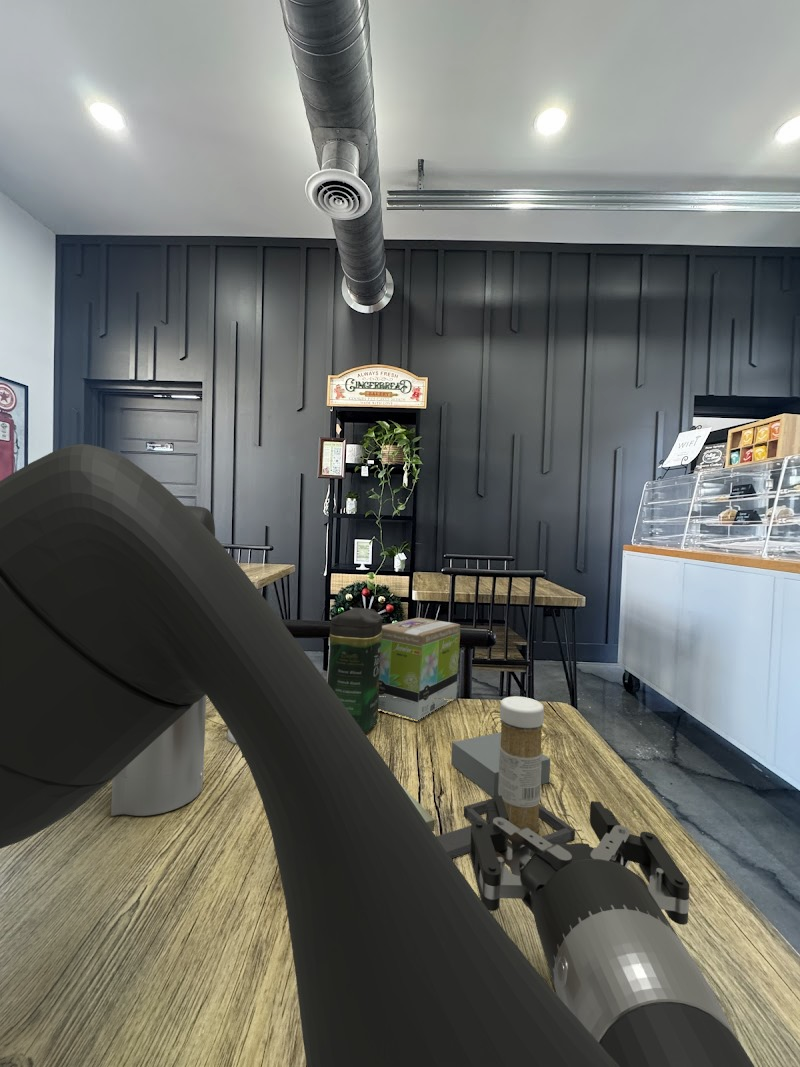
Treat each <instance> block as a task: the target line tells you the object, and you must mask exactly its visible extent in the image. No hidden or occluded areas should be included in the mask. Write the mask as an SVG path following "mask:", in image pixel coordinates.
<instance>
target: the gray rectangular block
mask: <svg viewBox="0 0 800 1067" xmlns="http://www.w3.org/2000/svg"><path fill="white" fill-rule="evenodd" d="M500 744H501V731H500V732H495V733H491V734H490V733H489V734H485V735H481V736H476V737H471V738H466V739H461V740H456V741H452V742H451V757H450V758H451V760H450V762H451V763H450V764H451V766H453V768H455V769H456V770H458V771H459V772H460V773H462V775H464V776H466V777H467V778H468V779H469V780H470V781H472V782H473V783H474V784H475V785H477V786H478V788H481V789H482V790H483V792H485V793H486V794H488V795H489V796H490V797H491V798H493V795H499V794H498V783H499V756H500ZM550 774H551V758H550V757H548V756H547V755H544V754H543V753H542V763H541V785H545V784H548V783H550V781H551V780H550V777H551V775H550Z"/></svg>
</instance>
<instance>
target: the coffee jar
mask: <svg viewBox="0 0 800 1067" xmlns="http://www.w3.org/2000/svg"><path fill="white" fill-rule="evenodd" d="M382 626H383V617H382V615H381V614H380V613H378V611H376V610H375V609H374V608H363V607H352V608H351V609H349V610H346V611H344V612H342V613H340V614H338V615H334V616H333V617H331V620H330V627H329V661H328V662H329V666H328V679H327V683H328V684H329V686H330V687H331V688H332V690H333V691H334V692H335V694H336V695H337V696H338V698H339V699H340V700H341V702H342V703H343V704H344V706H345V707H346V709H347V710H348V711H349V713H350V714H351V715H352V717H353V718H354V720H355V721H356V722H357V724H358V725H359V726H360V728H361V729H362V731H363V732H364V733H365V734H366V733H368V732H369V731H370V730H372V728H373V727H374V726H375V724H376V722H377V720H378V719H379V711H378V703H379V674H380V653H381V639H382Z"/></svg>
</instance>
